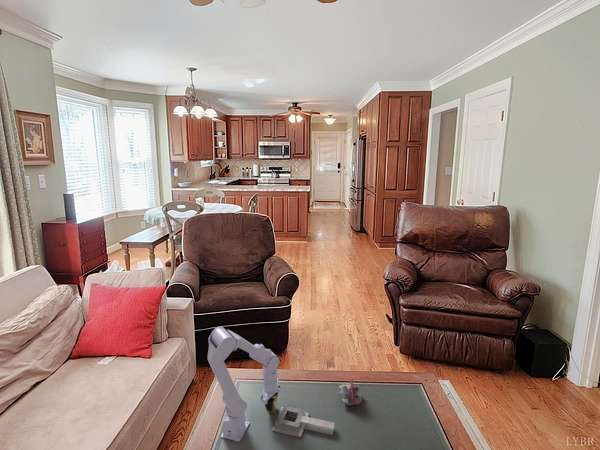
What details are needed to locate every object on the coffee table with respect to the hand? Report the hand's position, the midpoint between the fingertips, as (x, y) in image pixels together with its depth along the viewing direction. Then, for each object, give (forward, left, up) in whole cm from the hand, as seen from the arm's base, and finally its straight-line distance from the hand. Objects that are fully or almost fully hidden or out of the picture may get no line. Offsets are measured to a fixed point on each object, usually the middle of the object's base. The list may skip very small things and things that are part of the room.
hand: (271, 406), depth 148 cm
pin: (0, 0, -2) cm, 2 cm away
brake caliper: (+15, -31, -2) cm, 35 cm away
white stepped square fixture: (-4, -16, -2) cm, 16 cm away
